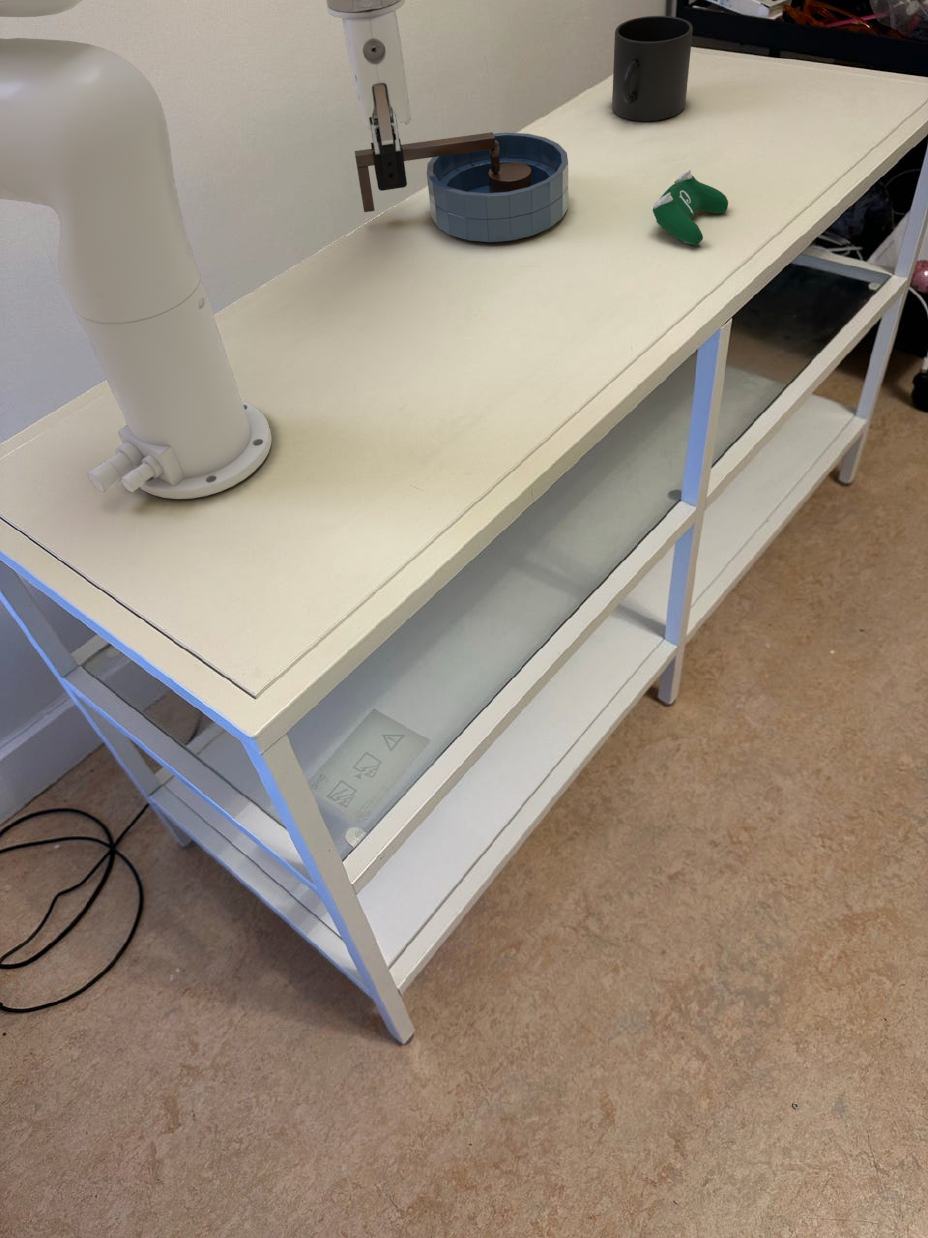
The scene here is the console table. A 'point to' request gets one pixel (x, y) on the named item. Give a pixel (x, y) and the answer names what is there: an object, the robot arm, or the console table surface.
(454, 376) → the console table surface
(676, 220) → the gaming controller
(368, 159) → the brown long handled part
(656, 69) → the mug
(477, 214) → the bowl
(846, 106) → the console table surface
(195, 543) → the console table surface
